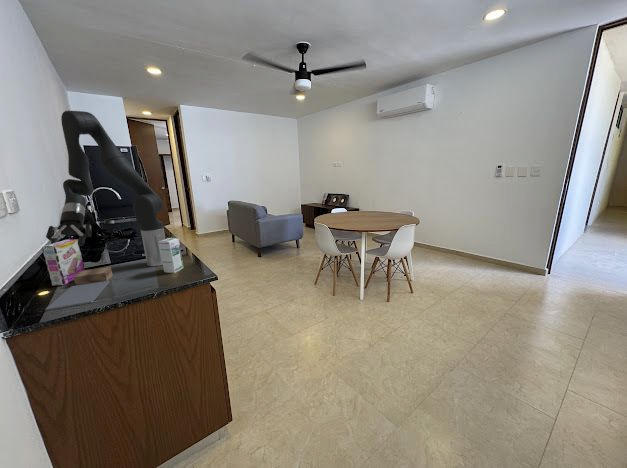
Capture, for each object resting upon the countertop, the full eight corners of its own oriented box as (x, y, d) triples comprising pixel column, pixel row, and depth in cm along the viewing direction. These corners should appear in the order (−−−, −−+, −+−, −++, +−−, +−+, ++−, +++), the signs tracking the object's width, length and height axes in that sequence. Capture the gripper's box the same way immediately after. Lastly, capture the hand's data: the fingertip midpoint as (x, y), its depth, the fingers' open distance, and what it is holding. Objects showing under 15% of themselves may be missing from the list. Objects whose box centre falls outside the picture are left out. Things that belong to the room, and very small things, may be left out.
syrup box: (175, 273, 110) (169, 241, 107) (163, 272, 111) (157, 240, 108) (184, 268, 116) (179, 237, 112) (172, 267, 117) (167, 237, 113)
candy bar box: (65, 285, 100) (54, 246, 96) (51, 286, 100) (40, 246, 96) (87, 274, 111) (78, 238, 107) (75, 275, 111) (65, 239, 107)
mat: (109, 281, 103) (109, 280, 103) (91, 303, 86) (91, 301, 86) (72, 287, 98) (71, 286, 98) (45, 310, 82) (45, 309, 82)
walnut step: (112, 275, 109) (110, 266, 108) (107, 281, 103) (105, 272, 102) (83, 279, 105) (81, 270, 104) (76, 286, 99) (73, 277, 98)
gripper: (47, 211, 108) (39, 244, 100) (89, 209, 113) (84, 239, 106) (57, 221, 114) (50, 252, 106) (96, 218, 119) (92, 248, 112)
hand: (67, 246), depth 106 cm, fingers open, 8 cm apart
